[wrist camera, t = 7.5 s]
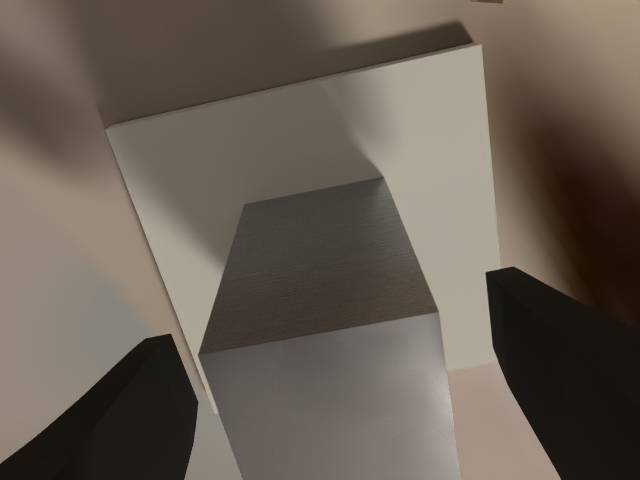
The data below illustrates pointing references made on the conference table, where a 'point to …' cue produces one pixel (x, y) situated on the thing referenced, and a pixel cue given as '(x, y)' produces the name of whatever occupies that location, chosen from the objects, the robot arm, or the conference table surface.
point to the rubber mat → (327, 179)
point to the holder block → (493, 1)
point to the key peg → (329, 344)
